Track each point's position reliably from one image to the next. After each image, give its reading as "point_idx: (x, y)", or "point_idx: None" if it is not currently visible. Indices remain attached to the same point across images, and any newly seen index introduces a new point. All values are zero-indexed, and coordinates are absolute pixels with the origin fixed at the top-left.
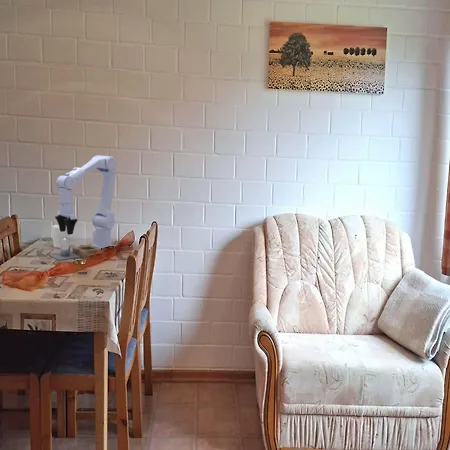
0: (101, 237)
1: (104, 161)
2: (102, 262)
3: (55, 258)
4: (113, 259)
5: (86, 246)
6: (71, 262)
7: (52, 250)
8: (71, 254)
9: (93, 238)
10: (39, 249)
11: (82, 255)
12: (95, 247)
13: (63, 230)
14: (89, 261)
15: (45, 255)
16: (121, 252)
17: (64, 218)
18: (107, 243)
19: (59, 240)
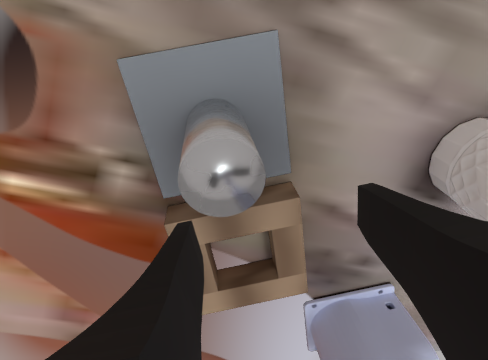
0: (336, 356)
1: None
2: (25, 268)
3: (171, 49)
4: (83, 315)
5: (287, 265)
6: (45, 125)
7: (403, 88)
8: None
9: (401, 318)
10: (480, 10)
11: (167, 213)
12: (245, 296)
13: (363, 215)
14: (57, 220)
15: (295, 5)
16: (208, 353)
17: (465, 348)
18: (315, 344)
19: (472, 160)
